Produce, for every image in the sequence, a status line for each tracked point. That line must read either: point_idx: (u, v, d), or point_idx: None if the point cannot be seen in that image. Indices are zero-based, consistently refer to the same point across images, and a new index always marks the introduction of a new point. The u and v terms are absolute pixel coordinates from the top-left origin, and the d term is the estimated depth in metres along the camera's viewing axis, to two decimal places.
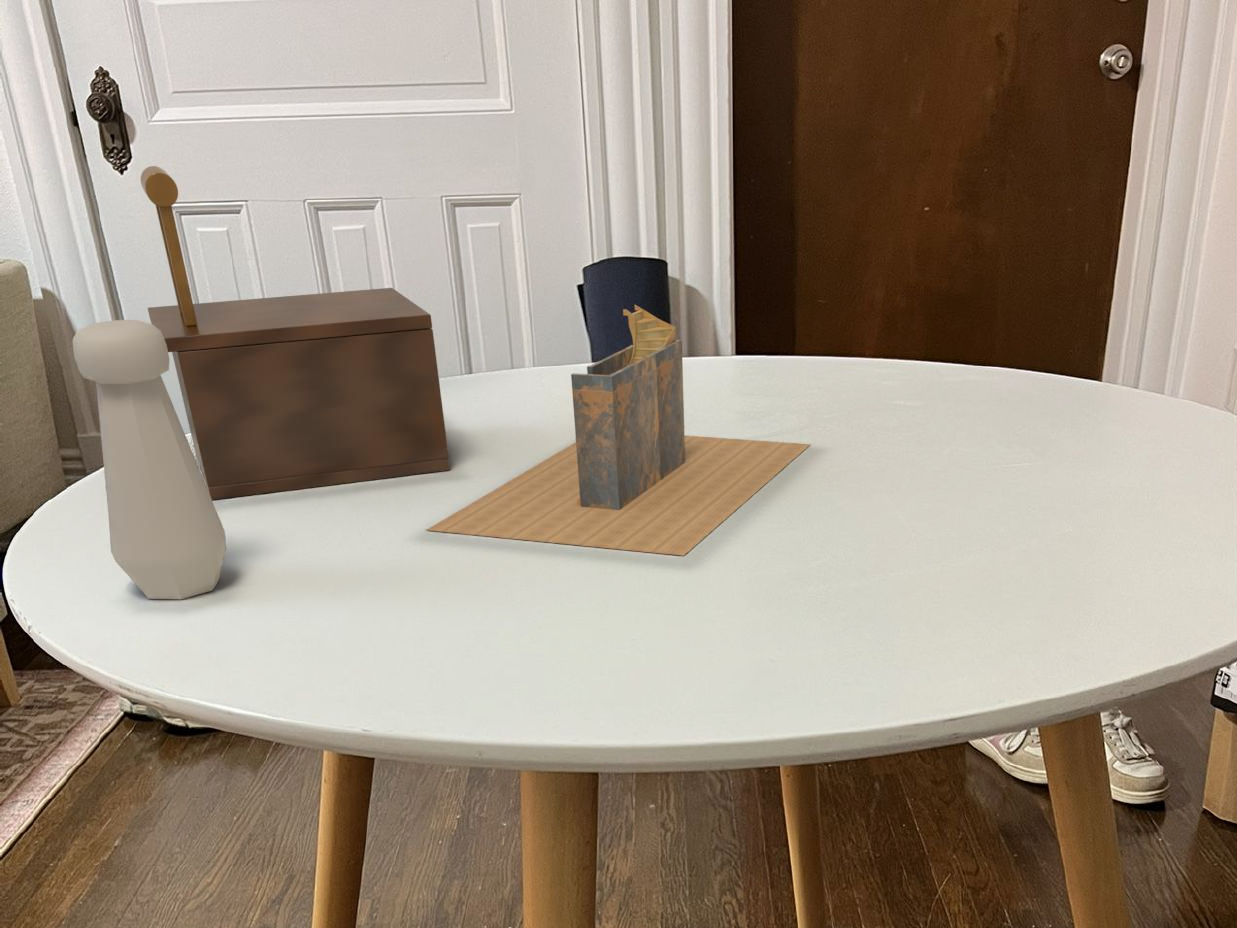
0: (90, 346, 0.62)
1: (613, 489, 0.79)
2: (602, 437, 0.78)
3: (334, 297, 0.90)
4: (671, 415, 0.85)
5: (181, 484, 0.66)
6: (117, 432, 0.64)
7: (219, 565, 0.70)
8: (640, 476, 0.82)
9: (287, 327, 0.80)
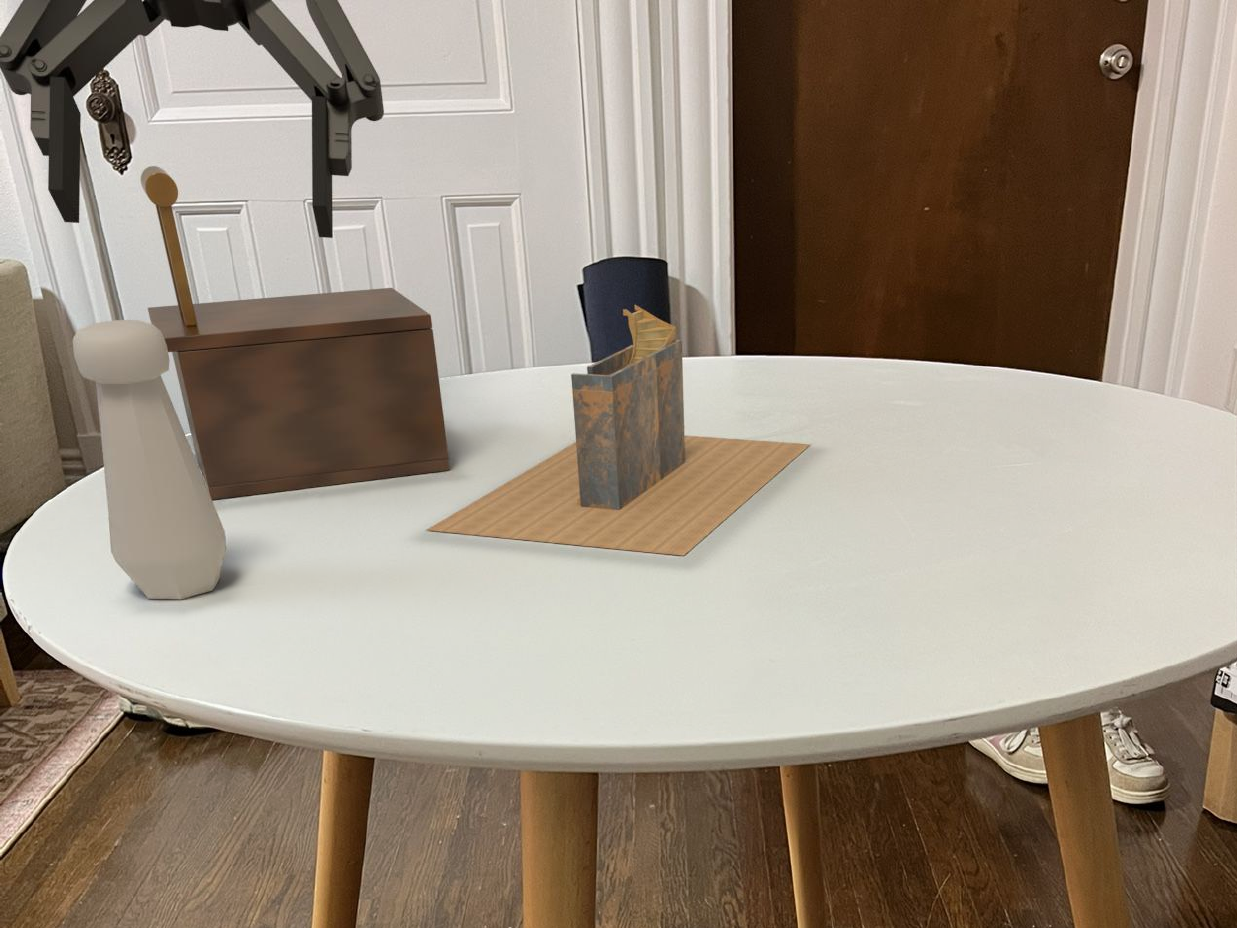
0: (91, 346, 0.62)
1: (613, 489, 0.79)
2: (602, 437, 0.78)
3: (334, 297, 0.90)
4: (671, 415, 0.85)
5: (181, 484, 0.66)
6: (117, 432, 0.64)
7: (219, 565, 0.70)
8: (640, 476, 0.82)
9: (287, 327, 0.80)
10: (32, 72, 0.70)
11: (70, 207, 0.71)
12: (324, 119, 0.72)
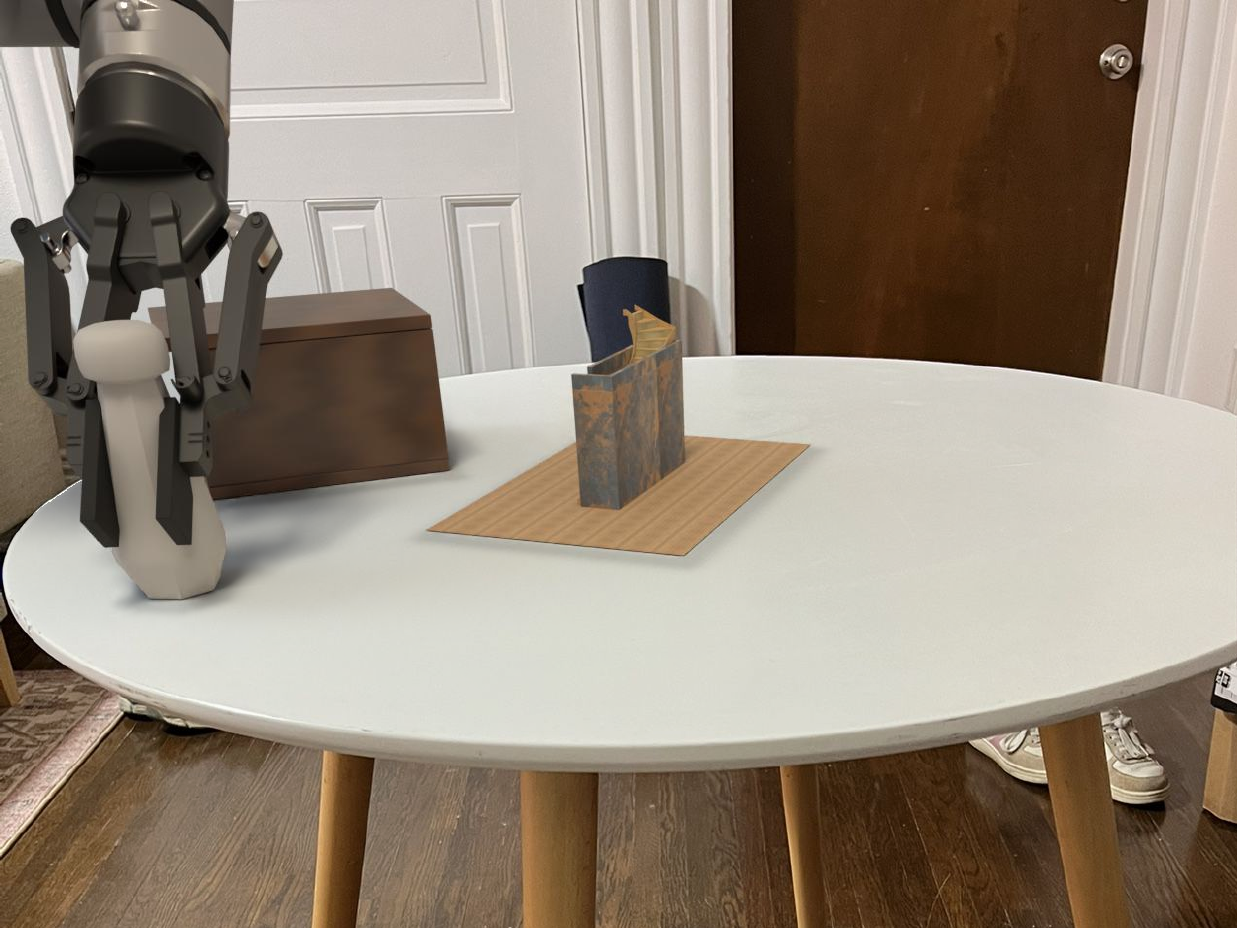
0: (91, 346, 0.62)
1: (613, 489, 0.79)
2: (602, 437, 0.78)
3: (334, 297, 0.90)
4: (671, 415, 0.85)
5: None
6: (118, 432, 0.64)
7: (219, 565, 0.70)
8: (640, 476, 0.82)
9: (287, 327, 0.80)
10: (73, 399, 0.65)
11: (106, 534, 0.65)
12: (173, 422, 0.64)
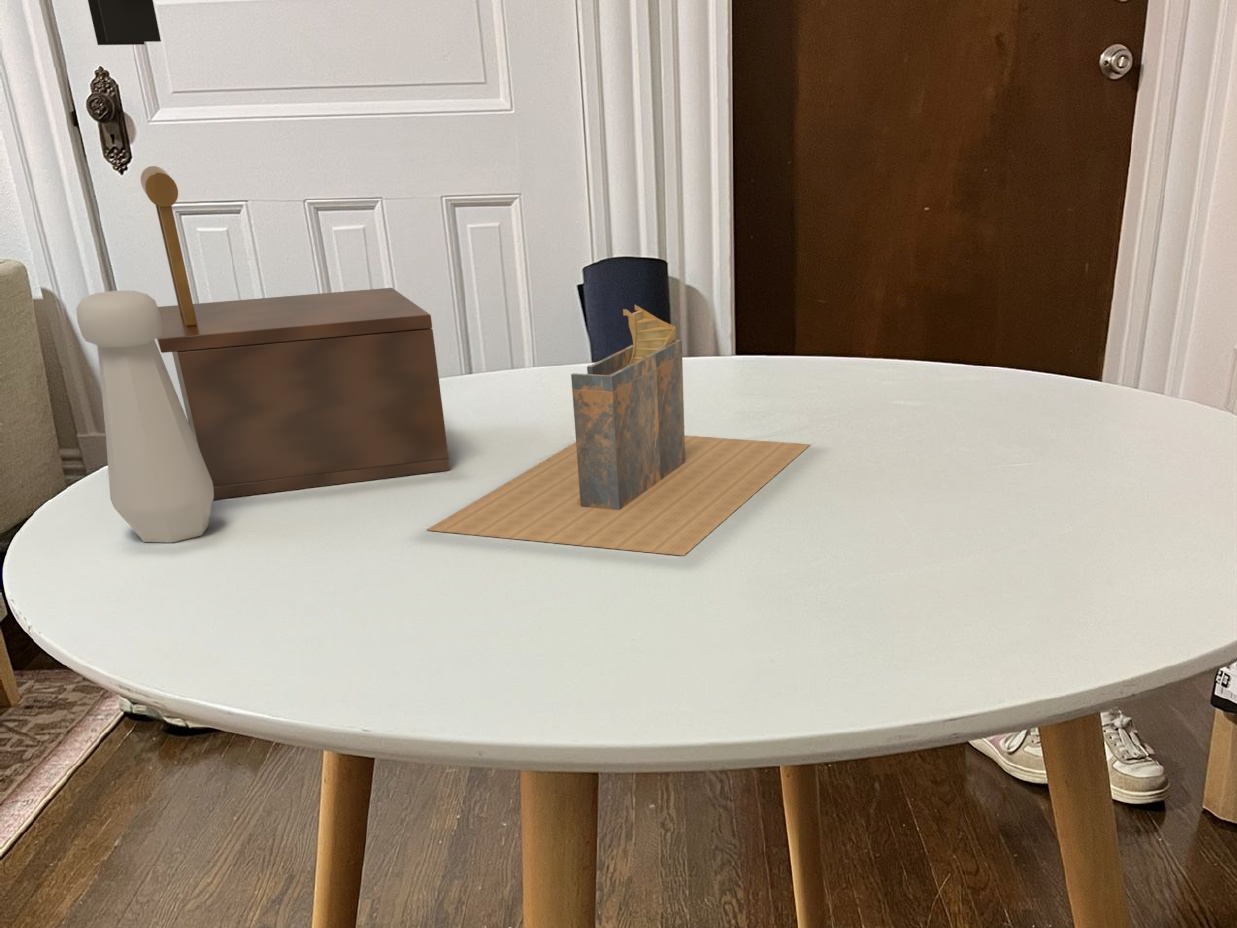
0: (91, 313, 0.70)
1: (613, 489, 0.79)
2: (602, 437, 0.78)
3: (334, 297, 0.90)
4: (671, 415, 0.85)
5: (172, 438, 0.74)
6: (115, 390, 0.72)
7: (207, 513, 0.78)
8: (640, 476, 0.82)
9: (287, 327, 0.80)
10: None
11: (121, 44, 0.81)
12: None
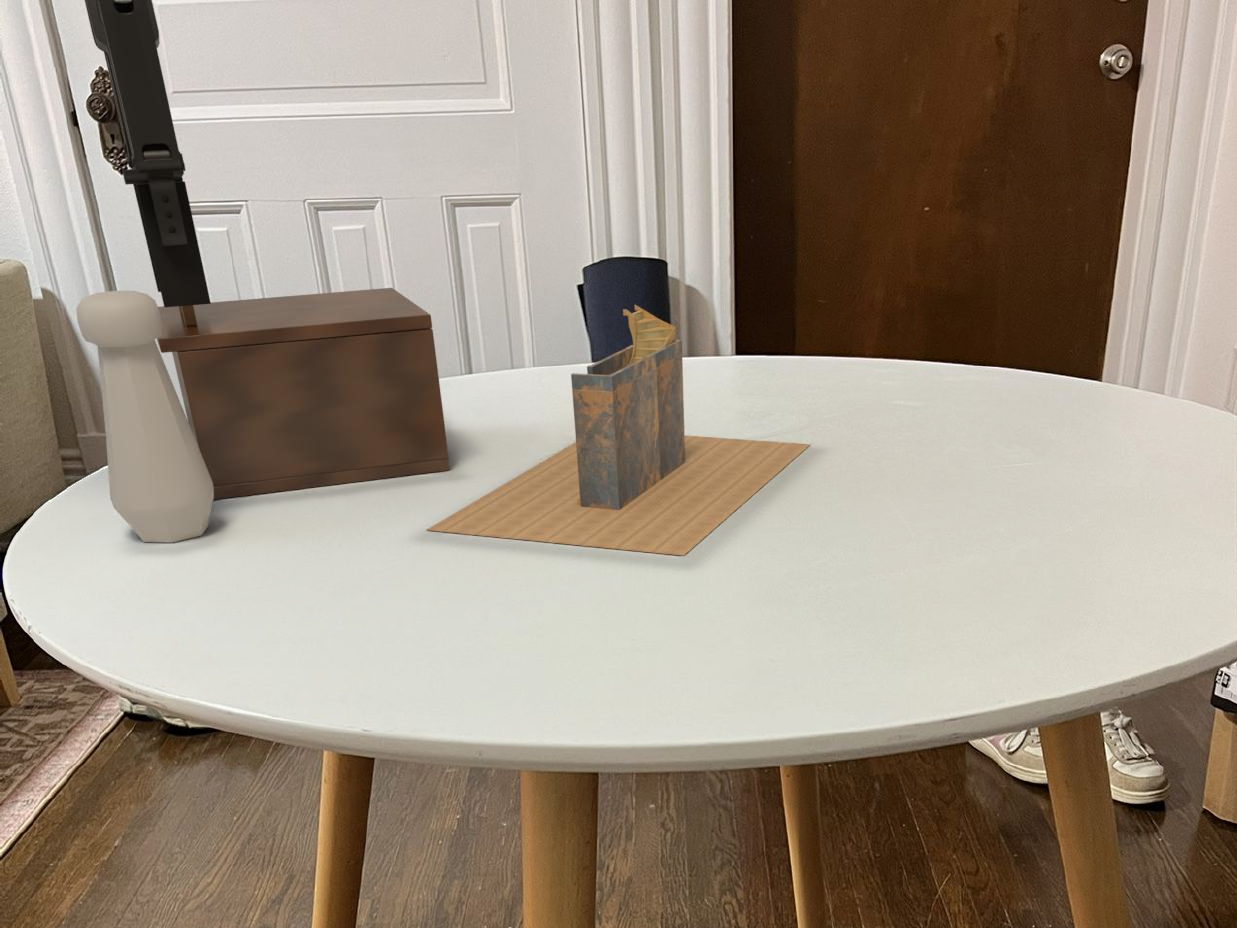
0: (91, 313, 0.70)
1: (613, 489, 0.79)
2: (602, 437, 0.78)
3: (334, 297, 0.90)
4: (671, 415, 0.85)
5: (172, 438, 0.74)
6: (115, 390, 0.72)
7: (207, 513, 0.78)
8: (640, 476, 0.82)
9: (287, 327, 0.80)
10: None
11: None
12: (142, 211, 0.77)
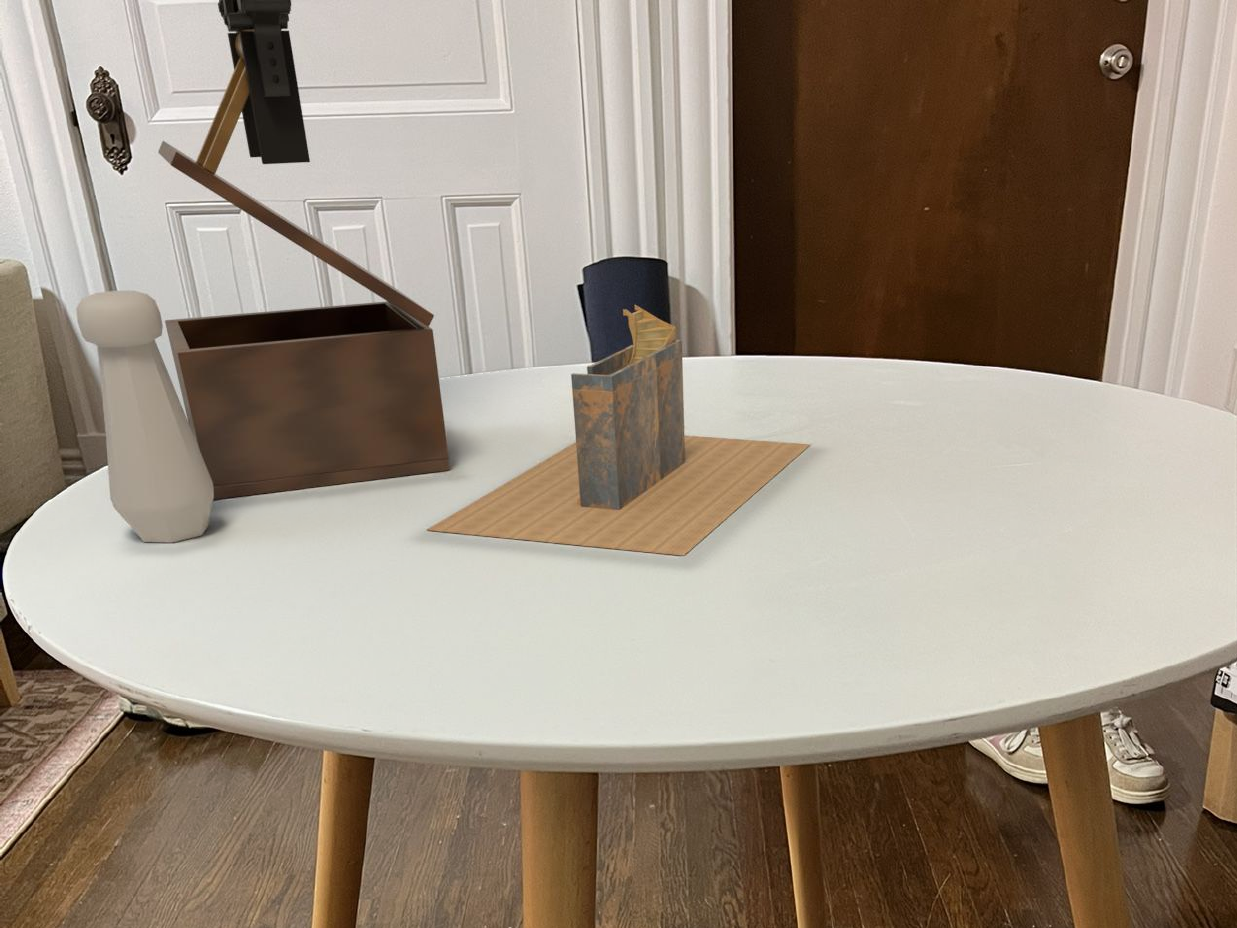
0: (91, 313, 0.70)
1: (613, 489, 0.79)
2: (602, 437, 0.78)
3: None
4: (671, 415, 0.85)
5: (172, 438, 0.74)
6: (115, 390, 0.72)
7: (207, 513, 0.78)
8: (640, 476, 0.82)
9: (302, 232, 0.78)
10: (228, 29, 0.80)
11: None
12: (245, 60, 0.75)
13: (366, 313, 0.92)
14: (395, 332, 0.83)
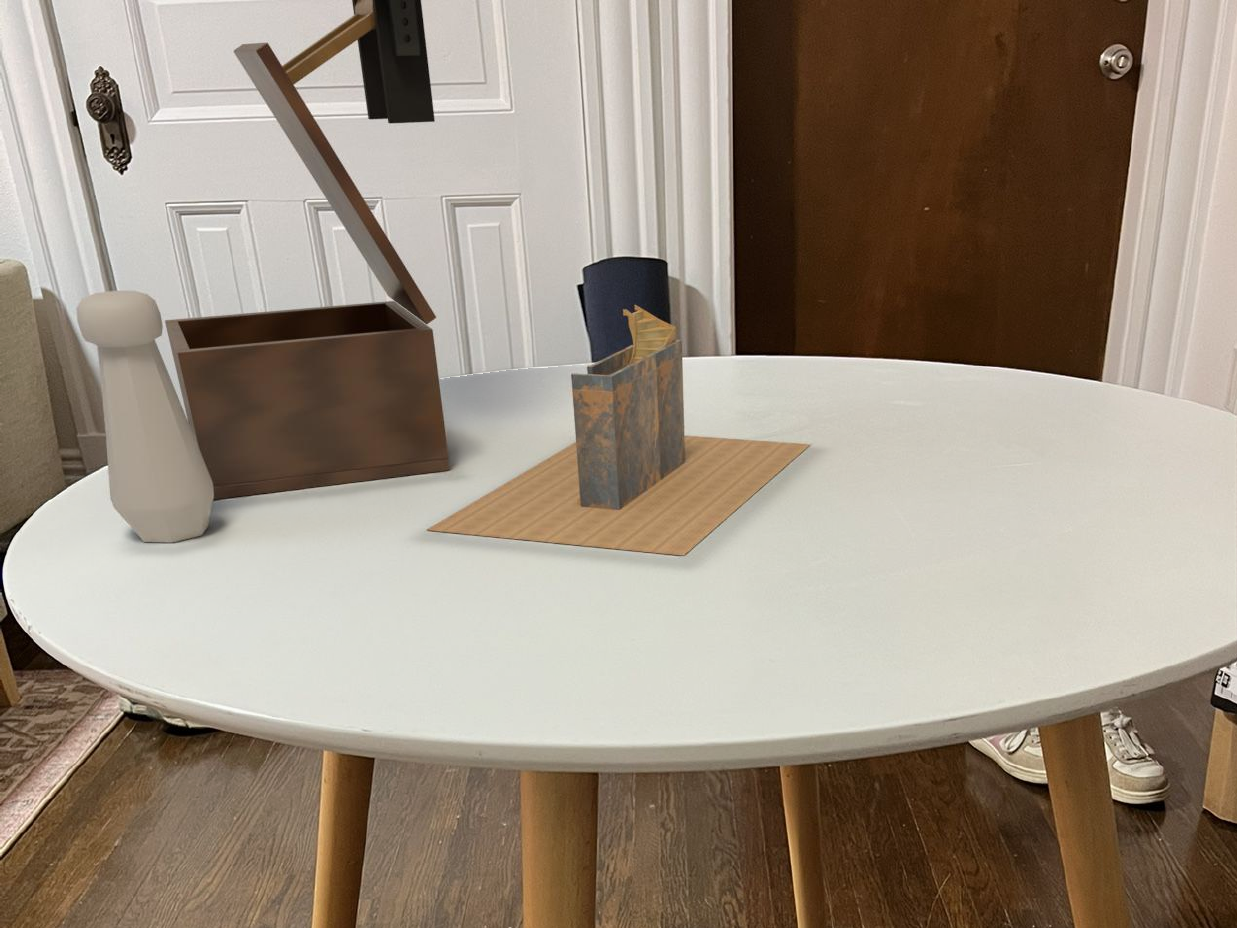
0: (91, 313, 0.70)
1: (613, 489, 0.79)
2: (602, 437, 0.78)
3: None
4: (671, 415, 0.85)
5: (172, 438, 0.74)
6: (115, 390, 0.72)
7: (207, 513, 0.78)
8: (640, 476, 0.82)
9: (350, 178, 0.78)
10: None
11: None
12: (377, 20, 0.76)
13: (366, 313, 0.92)
14: (395, 332, 0.83)
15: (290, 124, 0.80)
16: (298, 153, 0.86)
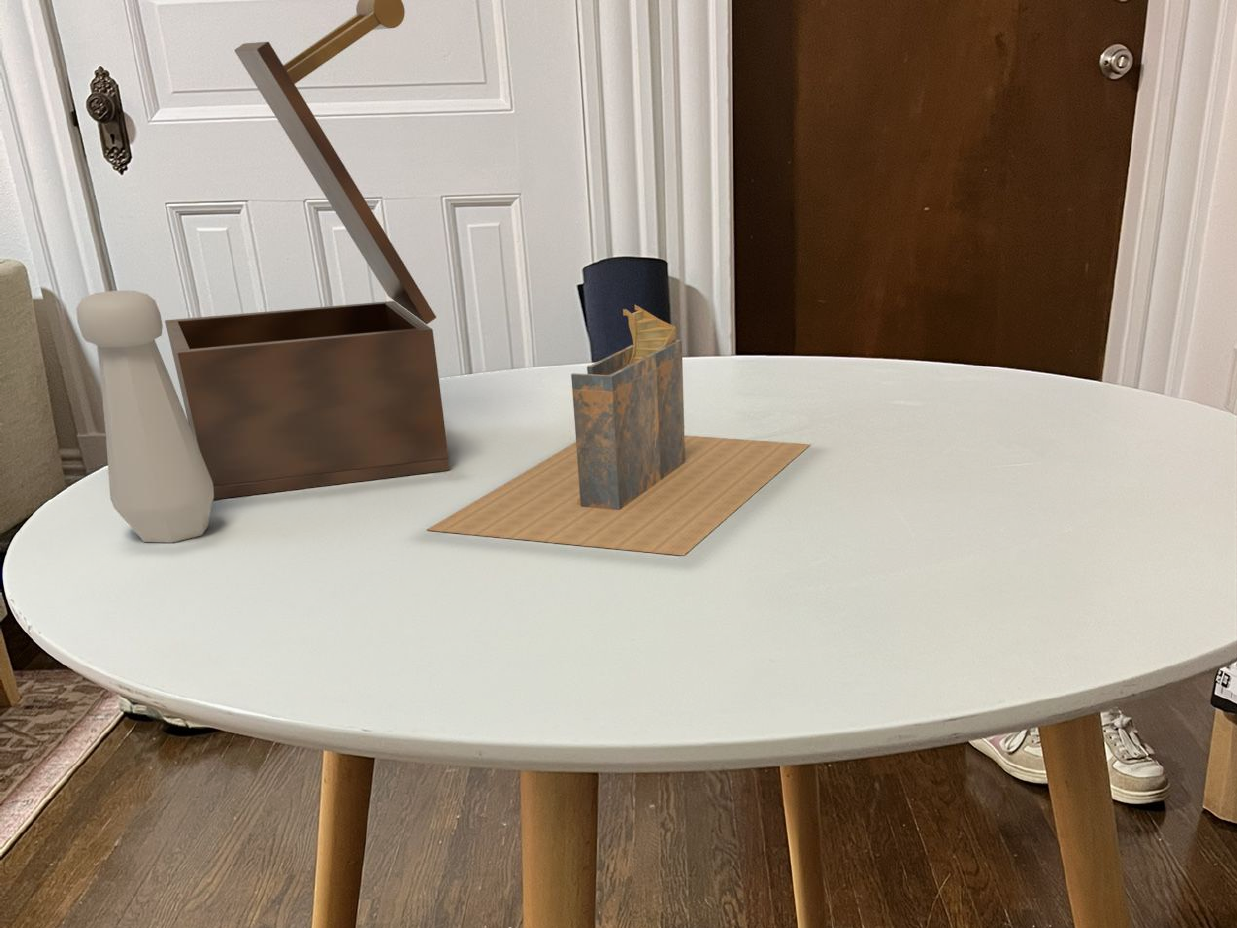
0: (91, 313, 0.70)
1: (613, 489, 0.79)
2: (602, 437, 0.78)
3: None
4: (671, 415, 0.85)
5: (172, 438, 0.74)
6: (115, 390, 0.72)
7: (207, 513, 0.78)
8: (640, 476, 0.82)
9: (350, 177, 0.78)
10: None
11: None
12: None
13: (366, 313, 0.92)
14: (395, 332, 0.83)
15: (291, 123, 0.80)
16: (299, 153, 0.86)
